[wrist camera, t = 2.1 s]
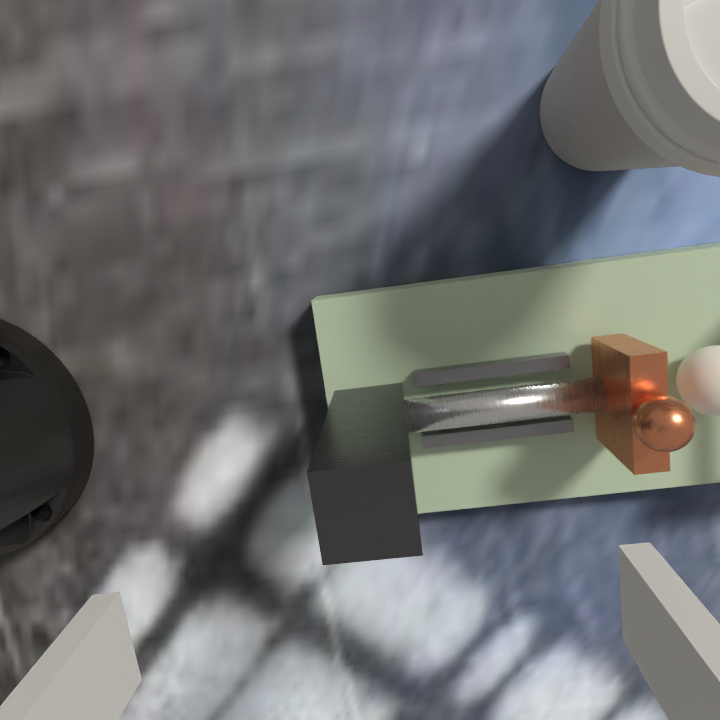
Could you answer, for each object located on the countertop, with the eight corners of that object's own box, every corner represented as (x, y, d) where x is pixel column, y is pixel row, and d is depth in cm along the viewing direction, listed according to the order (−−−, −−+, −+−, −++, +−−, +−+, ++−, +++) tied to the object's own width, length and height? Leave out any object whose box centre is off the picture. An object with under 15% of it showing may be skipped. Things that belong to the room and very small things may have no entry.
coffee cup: (698, -4, 29) (1027, -255, 14) (691, 192, 31) (971, 153, 16) (507, 17, 29) (629, -202, 15) (512, 208, 31) (624, 185, 17)
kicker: (347, 465, 32) (326, 589, 21) (333, 369, 30) (302, 445, 19) (634, 433, 30) (775, 547, 19) (630, 332, 29) (777, 391, 18)
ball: (663, 408, 31) (699, 430, 27) (662, 343, 30) (698, 358, 26) (732, 400, 30) (777, 422, 27) (732, 335, 30) (778, 348, 26)
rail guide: (422, 442, 31) (423, 448, 31) (413, 370, 31) (414, 374, 30) (568, 426, 31) (573, 431, 30) (564, 351, 30) (569, 355, 29)
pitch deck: (348, 502, 35) (345, 521, 33) (316, 296, 33) (311, 300, 30) (729, 461, 34) (754, 478, 31) (729, 241, 31) (757, 241, 29)
